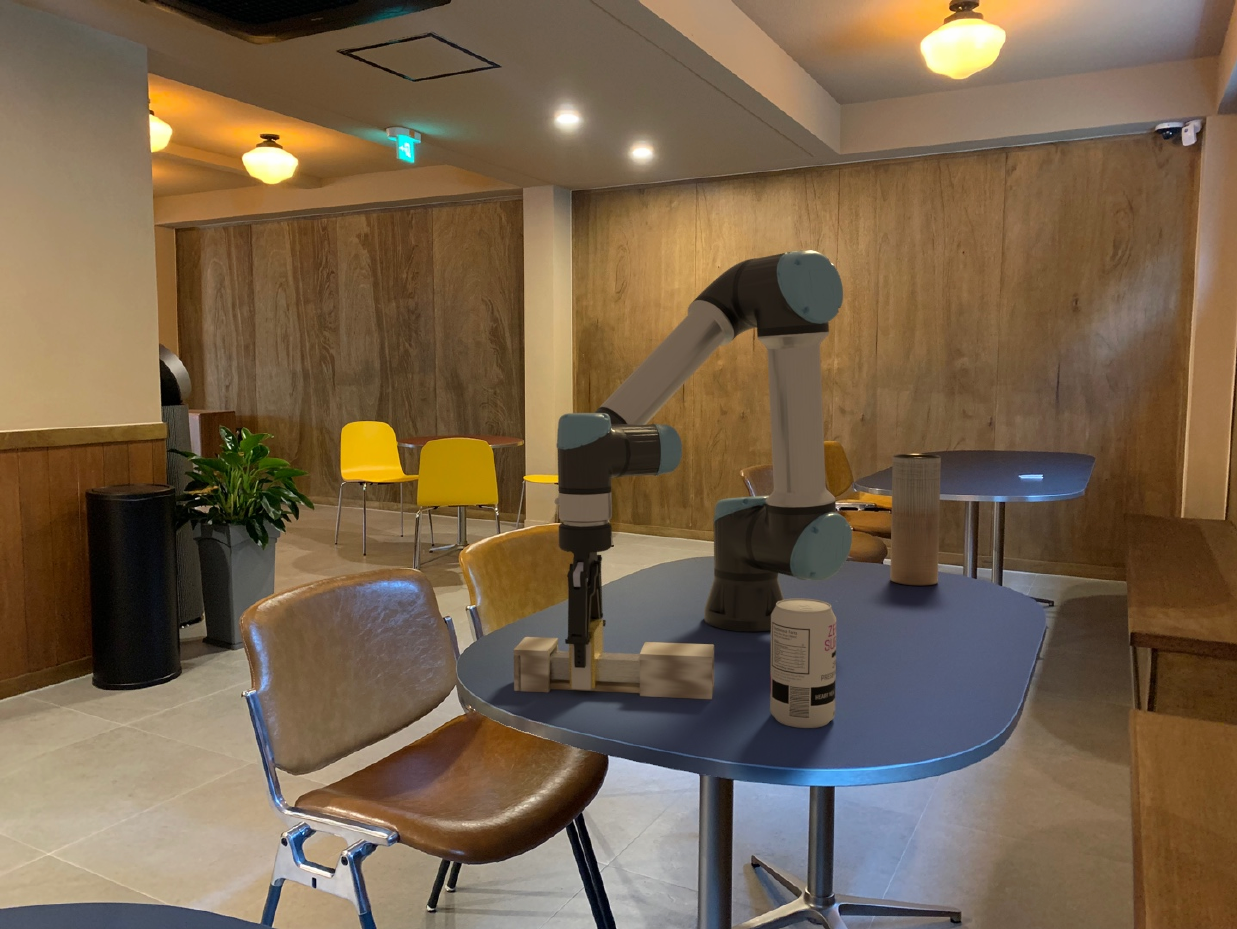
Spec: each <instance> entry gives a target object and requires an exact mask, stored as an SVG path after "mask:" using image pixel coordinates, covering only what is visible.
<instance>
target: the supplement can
mask: <svg viewBox="0 0 1237 929" xmlns="http://www.w3.org/2000/svg"><path fill="white" fill-rule="evenodd" d="M836 661H837V617H836V615H835V614H834V611H833V609H832V605H831V603H828V602H826V601H823V600H820V599H813V598H788V599H787V598H786V599H784V600H781V601H778V602H777V603H776V607H775V608H774V610H773V612H772V614H771V630H770V684H769V685H770V689H769V690H770V693H769V694H770V695H769V696H770V697H769V699H770V700H769V701H770V703H769V704H770V705H769V706H770V708H769V711H770V714H771V716H773V717H774V718H775V720H776V721H777V722H779V724H782V725H785V726H788V727H792V728H798V729H816V728H820V727H825V726H827V725H828V724H829V723H830V721H833V720H834V718H835V716H836V678H837V677H836V674H837V672H836V670H837V669H836V666H837V662H836Z"/></svg>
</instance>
